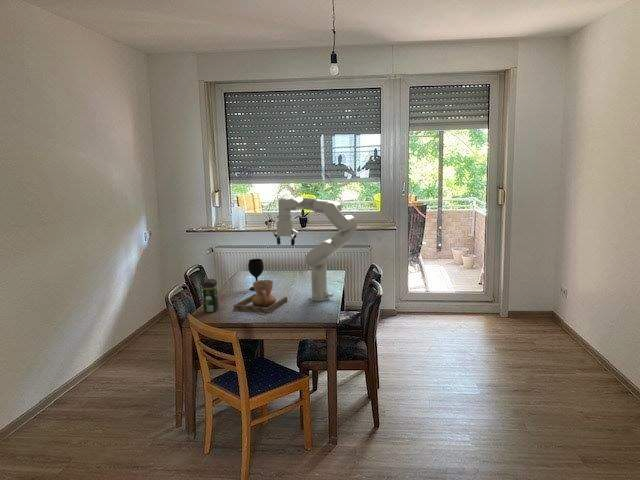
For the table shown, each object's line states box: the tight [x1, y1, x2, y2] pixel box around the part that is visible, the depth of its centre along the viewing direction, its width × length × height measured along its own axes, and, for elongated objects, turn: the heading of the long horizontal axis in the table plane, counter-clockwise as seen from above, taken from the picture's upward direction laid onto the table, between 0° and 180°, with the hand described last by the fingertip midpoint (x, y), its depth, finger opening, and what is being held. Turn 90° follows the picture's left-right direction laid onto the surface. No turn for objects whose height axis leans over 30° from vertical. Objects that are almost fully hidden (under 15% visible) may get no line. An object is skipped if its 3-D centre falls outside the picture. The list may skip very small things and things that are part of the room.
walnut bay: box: [233, 293, 288, 314], centre depth 300 cm, size 23×25×3 cm
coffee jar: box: [201, 278, 220, 313], centre depth 292 cm, size 10×8×19 cm
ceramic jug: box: [251, 279, 277, 307], centre depth 301 cm, size 18×14×14 cm
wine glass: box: [247, 258, 265, 292], centre depth 339 cm, size 10×10×20 cm
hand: (285, 244), depth 316 cm, fingers open, 9 cm apart
